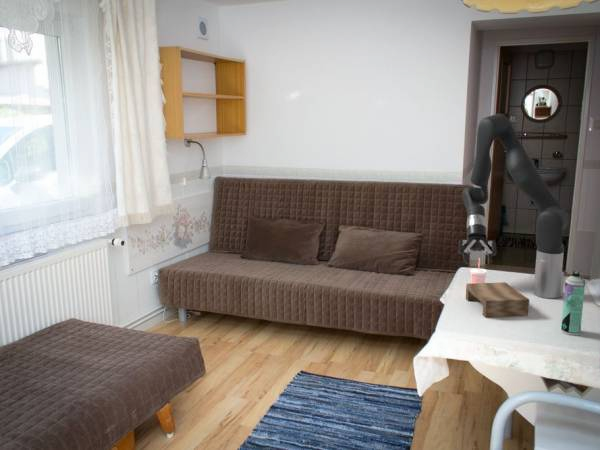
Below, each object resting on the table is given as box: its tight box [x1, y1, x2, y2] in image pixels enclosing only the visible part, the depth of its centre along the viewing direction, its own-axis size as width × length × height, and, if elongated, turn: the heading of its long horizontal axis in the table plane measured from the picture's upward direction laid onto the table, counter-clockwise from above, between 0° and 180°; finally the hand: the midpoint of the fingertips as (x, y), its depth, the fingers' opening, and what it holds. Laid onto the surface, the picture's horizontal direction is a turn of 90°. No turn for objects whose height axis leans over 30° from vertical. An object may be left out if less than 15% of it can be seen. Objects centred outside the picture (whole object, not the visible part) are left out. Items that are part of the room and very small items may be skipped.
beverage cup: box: [469, 257, 488, 284], centre depth 213 cm, size 6×6×14 cm
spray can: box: [560, 270, 586, 336], centre depth 174 cm, size 6×6×20 cm
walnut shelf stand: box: [465, 282, 530, 319], centre depth 198 cm, size 15×19×6 cm
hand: (477, 263), depth 215 cm, fingers open, 8 cm apart
